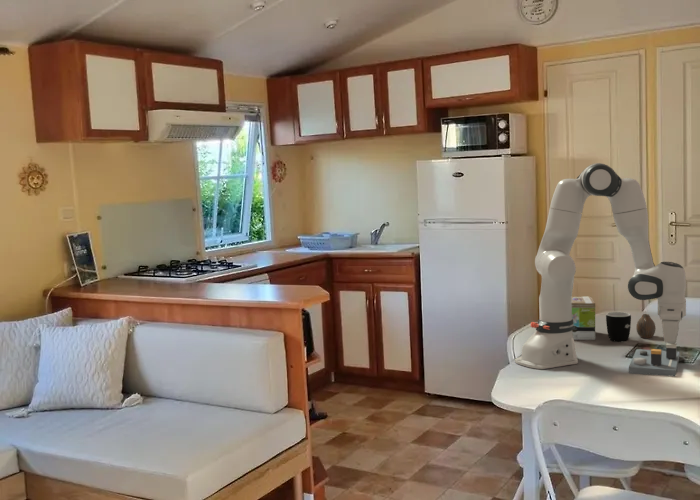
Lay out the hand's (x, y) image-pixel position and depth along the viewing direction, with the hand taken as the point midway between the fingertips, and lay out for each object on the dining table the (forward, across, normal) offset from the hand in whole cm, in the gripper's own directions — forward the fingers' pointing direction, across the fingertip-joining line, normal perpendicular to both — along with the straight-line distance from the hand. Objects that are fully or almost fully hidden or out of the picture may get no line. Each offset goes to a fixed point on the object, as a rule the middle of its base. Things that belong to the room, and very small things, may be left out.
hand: (671, 350), depth 257 cm
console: (+4, +6, -5) cm, 8 cm away
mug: (+4, -28, -20) cm, 35 cm away
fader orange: (+2, +13, -4) cm, 13 cm away
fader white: (+2, +3, 0) cm, 4 cm away
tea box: (+4, -31, -35) cm, 47 cm away
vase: (+4, -34, -11) cm, 36 cm away
